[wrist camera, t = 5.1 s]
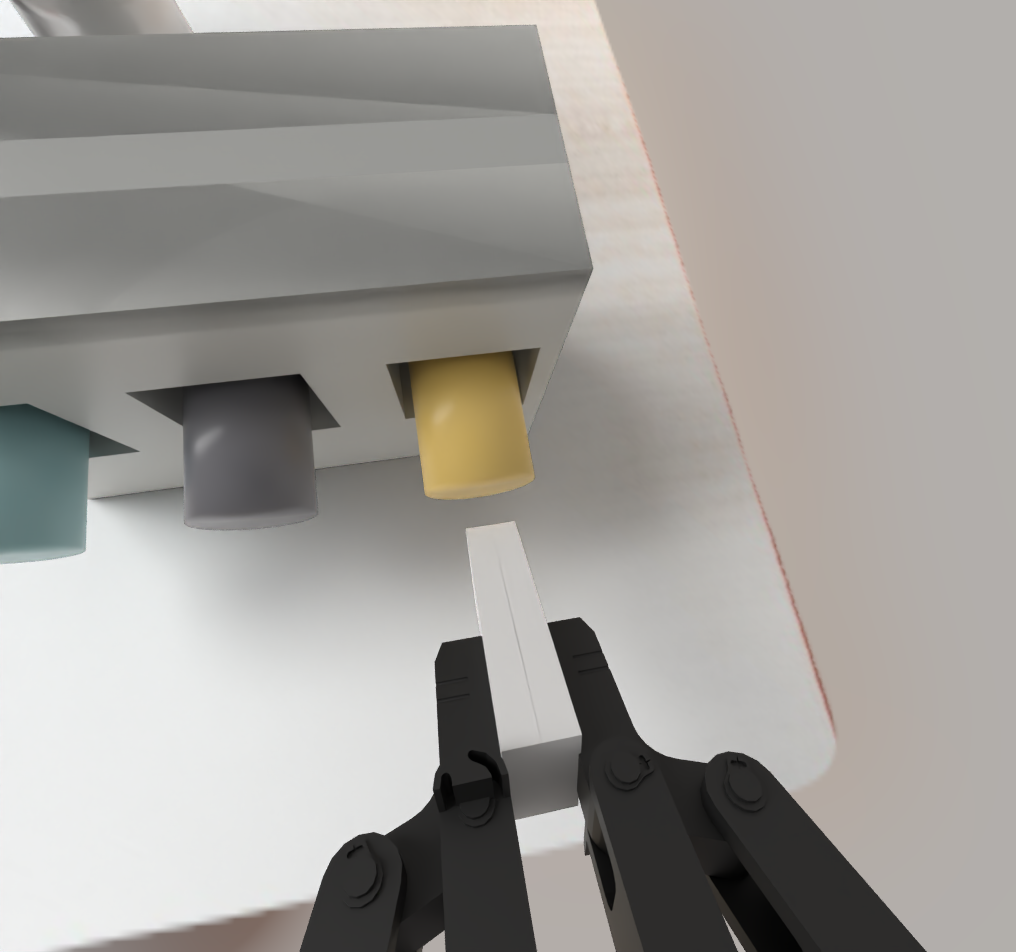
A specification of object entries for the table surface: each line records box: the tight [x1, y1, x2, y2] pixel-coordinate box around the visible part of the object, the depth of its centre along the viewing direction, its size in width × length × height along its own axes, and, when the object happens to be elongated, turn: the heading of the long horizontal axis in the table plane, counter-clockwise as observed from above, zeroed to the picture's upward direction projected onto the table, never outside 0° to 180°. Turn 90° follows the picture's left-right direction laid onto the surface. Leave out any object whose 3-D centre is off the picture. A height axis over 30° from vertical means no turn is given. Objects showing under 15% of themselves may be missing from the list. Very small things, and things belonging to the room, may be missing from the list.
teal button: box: [0, 403, 90, 564], centre depth 14 cm, size 5×4×4 cm
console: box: [0, 25, 593, 499], centre depth 17 cm, size 8×20×13 cm, turn 99°
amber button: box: [408, 351, 535, 500], centre depth 16 cm, size 5×4×4 cm
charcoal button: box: [183, 374, 318, 530], centre depth 15 cm, size 5×4×4 cm
